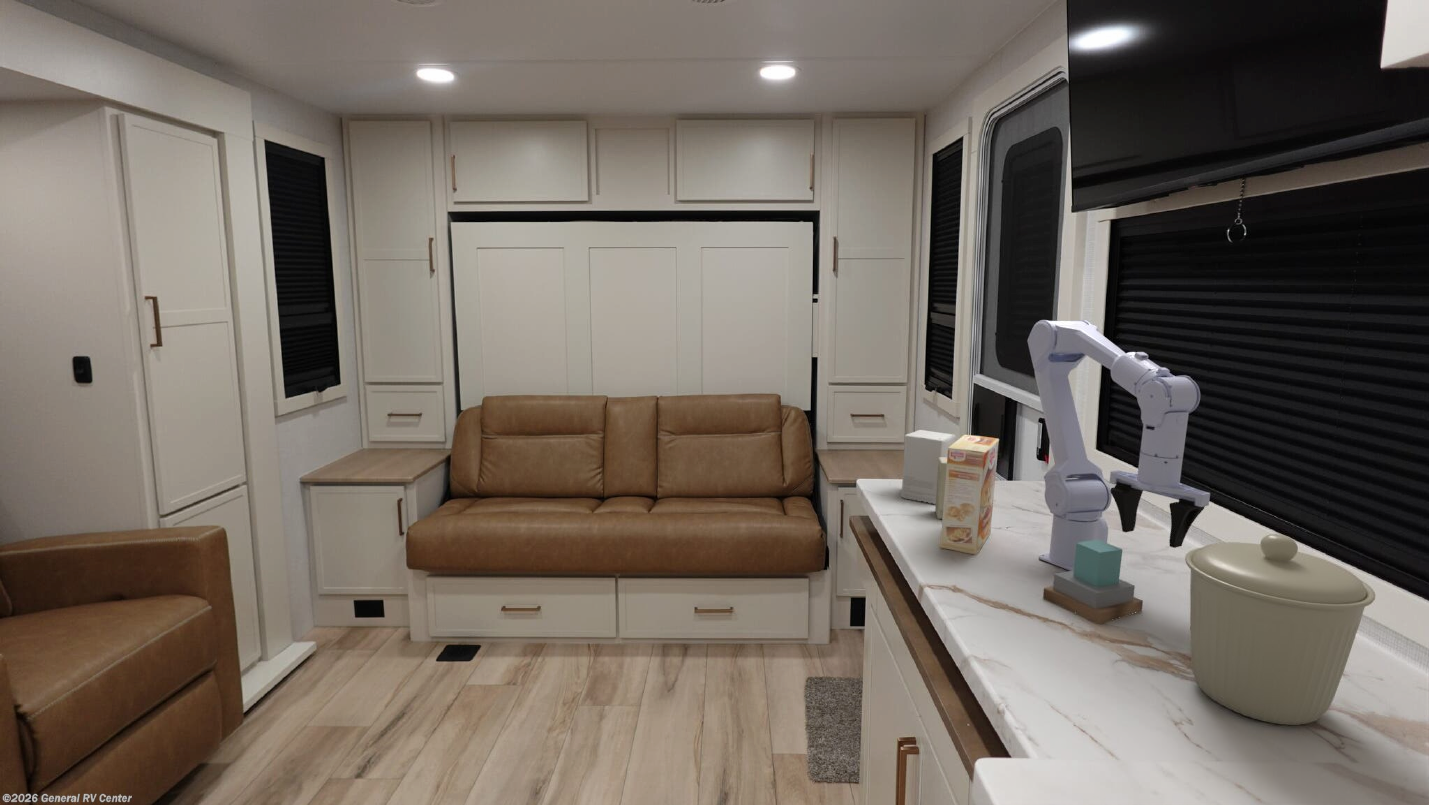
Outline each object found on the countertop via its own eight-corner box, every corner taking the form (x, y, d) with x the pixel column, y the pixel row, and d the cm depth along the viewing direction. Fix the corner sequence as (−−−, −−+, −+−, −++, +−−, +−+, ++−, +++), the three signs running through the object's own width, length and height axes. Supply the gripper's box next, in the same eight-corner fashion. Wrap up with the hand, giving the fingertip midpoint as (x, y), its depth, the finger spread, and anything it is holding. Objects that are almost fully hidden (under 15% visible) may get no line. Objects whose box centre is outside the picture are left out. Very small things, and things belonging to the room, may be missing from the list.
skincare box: (958, 521, 159) (963, 464, 157) (937, 519, 159) (941, 463, 157) (955, 512, 165) (959, 457, 163) (934, 510, 166) (938, 456, 164)
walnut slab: (1083, 591, 126) (1084, 577, 125) (1141, 616, 117) (1142, 600, 117) (1042, 603, 121) (1043, 588, 121) (1099, 628, 112) (1101, 613, 112)
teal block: (1094, 572, 121) (1098, 539, 120) (1118, 583, 117) (1122, 549, 116) (1073, 576, 119) (1076, 542, 118) (1096, 587, 115) (1100, 552, 114)
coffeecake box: (977, 555, 139) (986, 452, 136) (938, 548, 142) (945, 447, 139) (992, 532, 152) (1000, 437, 149) (956, 526, 155) (963, 433, 152)
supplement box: (952, 497, 176) (957, 434, 174) (937, 505, 169) (942, 440, 167) (916, 489, 182) (920, 428, 179) (900, 497, 175) (904, 434, 172)
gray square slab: (1089, 581, 124) (1090, 567, 123) (1133, 601, 116) (1134, 585, 116) (1052, 588, 120) (1054, 573, 120) (1095, 609, 113) (1097, 593, 113)
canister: (1141, 661, 101) (1159, 509, 98) (1278, 665, 101) (1302, 513, 97) (1227, 743, 84) (1253, 561, 80) (1394, 749, 83) (1428, 567, 80)
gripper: (1101, 446, 121) (1092, 528, 123) (1195, 467, 108) (1183, 557, 111) (1128, 442, 124) (1119, 522, 127) (1222, 462, 112) (1210, 550, 114)
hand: (1151, 538), depth 119 cm, fingers open, 7 cm apart
